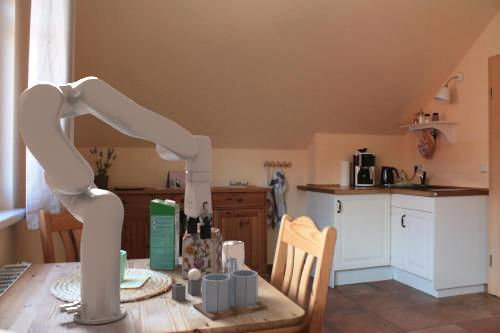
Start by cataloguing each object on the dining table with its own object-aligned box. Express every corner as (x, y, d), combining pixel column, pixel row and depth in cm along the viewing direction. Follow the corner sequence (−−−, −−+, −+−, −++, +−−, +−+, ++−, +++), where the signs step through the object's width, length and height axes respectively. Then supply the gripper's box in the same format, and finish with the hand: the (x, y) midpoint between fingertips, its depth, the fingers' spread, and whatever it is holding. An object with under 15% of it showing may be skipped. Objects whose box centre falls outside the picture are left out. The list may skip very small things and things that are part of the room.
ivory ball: (191, 283, 123) (191, 270, 123) (186, 280, 126) (186, 268, 126) (202, 281, 125) (202, 269, 125) (197, 278, 128) (197, 266, 128)
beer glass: (241, 296, 122) (241, 245, 122) (218, 295, 124) (218, 244, 124) (246, 290, 129) (246, 241, 129) (224, 288, 131) (224, 240, 131)
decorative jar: (215, 281, 139) (215, 226, 139) (181, 279, 141) (181, 225, 141) (223, 272, 151) (223, 221, 150) (191, 270, 152) (192, 220, 152)
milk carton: (174, 269, 153) (175, 200, 152) (149, 269, 153) (150, 200, 153) (178, 264, 162) (179, 198, 161) (155, 263, 162) (156, 198, 162)
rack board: (211, 320, 104) (211, 315, 104) (193, 307, 113) (193, 303, 113) (267, 308, 113) (267, 304, 113) (245, 297, 122) (246, 293, 122)
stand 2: (191, 295, 123) (191, 281, 123) (187, 292, 126) (187, 279, 126) (200, 293, 125) (201, 280, 125) (196, 291, 127) (196, 278, 127)
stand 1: (175, 301, 118) (175, 287, 118) (171, 298, 121) (171, 284, 121) (185, 299, 120) (185, 285, 120) (181, 296, 122) (181, 282, 122)
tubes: (210, 314, 106) (210, 282, 106) (198, 306, 112) (198, 275, 112) (262, 304, 114) (262, 274, 114) (247, 296, 120) (248, 268, 120)
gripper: (175, 177, 129) (176, 232, 129) (197, 179, 114) (198, 242, 114) (198, 176, 133) (198, 230, 133) (222, 178, 118) (223, 239, 118)
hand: (198, 236), depth 124 cm, fingers open, 9 cm apart
